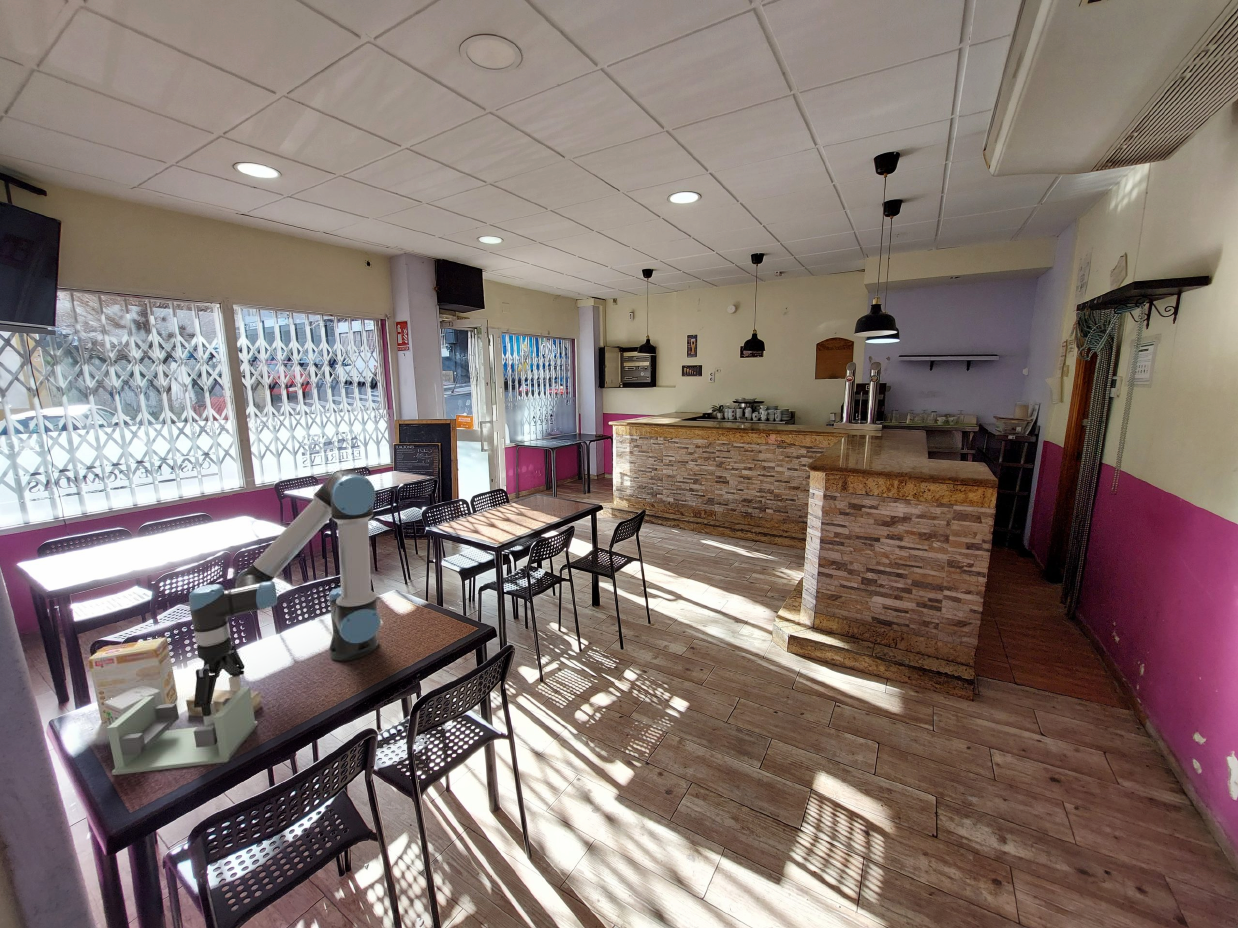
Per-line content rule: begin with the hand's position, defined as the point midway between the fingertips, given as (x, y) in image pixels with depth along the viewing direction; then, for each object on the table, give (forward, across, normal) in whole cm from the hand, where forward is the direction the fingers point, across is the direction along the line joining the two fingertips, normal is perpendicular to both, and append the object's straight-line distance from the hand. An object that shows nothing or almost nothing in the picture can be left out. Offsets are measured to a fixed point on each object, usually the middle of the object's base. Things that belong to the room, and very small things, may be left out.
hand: (224, 709), depth 144 cm
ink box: (+1, +7, -17) cm, 18 cm away
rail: (+1, 0, 0) cm, 1 cm away
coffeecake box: (+1, -5, -25) cm, 25 cm away
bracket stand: (0, +15, 0) cm, 15 cm away
